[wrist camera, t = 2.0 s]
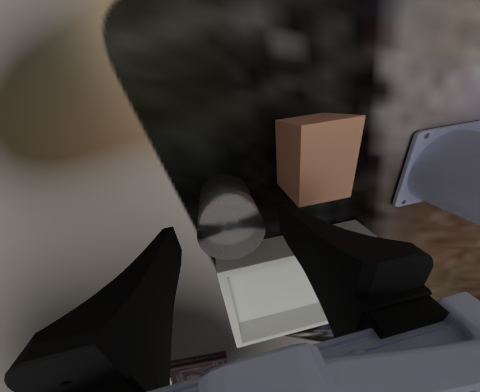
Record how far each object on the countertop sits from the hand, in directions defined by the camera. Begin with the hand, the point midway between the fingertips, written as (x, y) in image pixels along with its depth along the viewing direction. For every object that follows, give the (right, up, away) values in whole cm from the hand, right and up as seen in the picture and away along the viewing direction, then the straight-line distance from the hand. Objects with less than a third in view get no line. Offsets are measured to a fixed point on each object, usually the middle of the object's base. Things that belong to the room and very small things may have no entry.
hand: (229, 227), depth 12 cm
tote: (+7, -8, +11) cm, 15 cm away
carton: (+6, +6, +3) cm, 9 cm away
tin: (-1, +2, +4) cm, 5 cm away
